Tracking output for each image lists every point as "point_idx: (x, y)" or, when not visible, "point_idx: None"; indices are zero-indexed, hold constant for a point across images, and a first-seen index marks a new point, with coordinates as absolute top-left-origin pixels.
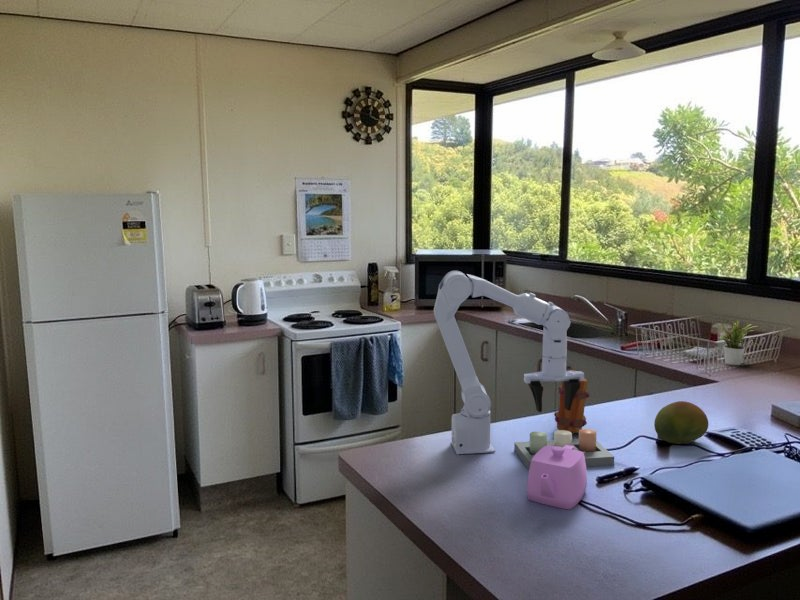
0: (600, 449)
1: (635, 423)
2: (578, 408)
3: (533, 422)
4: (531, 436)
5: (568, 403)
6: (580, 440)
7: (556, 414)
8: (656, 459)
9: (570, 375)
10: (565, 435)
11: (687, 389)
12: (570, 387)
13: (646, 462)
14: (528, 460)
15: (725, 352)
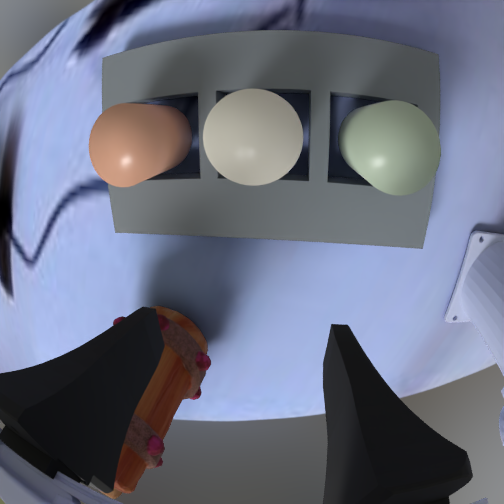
0: None
1: (41, 325)
2: None
3: (253, 401)
4: (437, 140)
5: (132, 334)
6: (173, 128)
7: (197, 383)
8: (25, 114)
9: (4, 499)
10: (252, 97)
11: None
12: (55, 413)
13: (45, 92)
14: (438, 65)
15: None
